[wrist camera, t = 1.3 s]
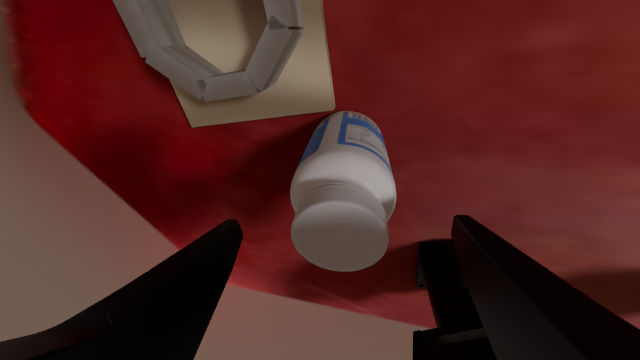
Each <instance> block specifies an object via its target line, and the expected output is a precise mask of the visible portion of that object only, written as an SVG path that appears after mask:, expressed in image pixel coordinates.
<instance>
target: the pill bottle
mask: <svg viewBox="0 0 640 360" xmlns="http://www.w3.org/2000/svg"><path fill="white" fill-rule="evenodd" d="M290 197H291V203H292V206H293V209H294V211H295V213H296V214H295V217H294V220H293V223H292V227H291V238H292V241H293V244H294V246H295V248H296V249H297V251H298V252H299V253H300V254H301V255H302V256H303V257H304V258H305V259H307V260H308V261H309V262H311V263H313V264H315V265H317V266H319V267H321V268H324V269H328V270H332V271H340V272H352V271H357V270H361V269H364V268H367V267H369V266H371V265H373V264H375V263H376V262H377V261H378V260H380V259H381V258H382V257H383V255H384V254H385V252H386V250H387V247H388V242H389V235H388V227H387V221H388V220H389V218H390V217H391V215H392V213H393V210H394V208H395V203H396V189H395V183H394V178H393V174H392V171H391V167H390V163H389V159H388V155H387V152H386V148H385V144H384V140H383V136H382V133H381V131H380V129H379V128H378V126H377V125H376V124H375V123H374V122H373V121H372V120H371V119H370V118H369V117H367V116H365V115H363V114H361V113H358V112H353V111H341V112H337V113H334V114H331V115H329V116H328V117H326V118H325V119H323V120H322V121H321V122H320V123H319V125H318V126H317V127H316V129H315V130H314V132H313V134H312V137H311V139H310V141H309V143H308V145H307V147H306V150H305V152H304V154H303V156H302V158H301V160H300V163H299V165H298V167H297V169H296V172H295V174H294V177H293V180H292V183H291V189H290Z"/></svg>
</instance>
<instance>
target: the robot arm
mask: <svg viewBox="0 0 640 360" xmlns="http://www.w3.org/2000/svg"><path fill="white" fill-rule="evenodd" d="M451 236H452V240H453V242H424V243H421V244H420V245H419V252H418V263H417V274H416V285H417V287H418V288H421V289H427V291H428V295H429V299H430V303H431V306H432V310H433V314H434V318H435V322H436V326H437V328H434V329H429V330H424V331H420V330H418V331H414V332H413V360H640V329H638V328H636V327H635V326H633V325H631V324H630V323H628V322H627V321H625V320H623V319H622V318H620V317H619V316H617V315H616V314H614V313H612V312H611V311H609V310H608V309H606V308H605V307H603V306H602V305H600V304H599V303H597V302H596V301H594V300H593V299H591V298H590V297H588V296H587V295H585V294H584V293H582V292H581V291H579V290H578V289H576V288H574V289H573V286H572V285H570V284H569V283H567V282H566V281H564V280H563V279H561V278H560V277H559V276H557V275H556V274H554V273H553V272H551V271H550V270H548V269H547V268H545V267H544V266H542V265H541V264H539V263H538V262H536V261H535V260H533V259H532V258H530V257H529V256H527V255H526V254H525V253H523V252H522V251H520V250H519V249H517V248H516V247H514V246H513V245H511V244H510V243H508V242H507V241H505V240H504V239H502V238H501V237H499V236H498V235H496V234H495V233H494V232H492V231H491V230H489V229H488V228H486V227H485V226H483V225H482V224H480V223H479V222H477V221H476V220H474V219H473V218H471V217H470V216H468V215H456V216H454V219H453V224H452V230H451ZM242 238H243V232H242V230H241V227H240V225H239V223H238V221H237V220H235V219H228V220H226V221H224V222H223V223H221V224H220V225H218V226H216V227H215V228H213V229H212V230H210V231H209V232H207V233H206V234H204V235H203V236H201V237H200V238H198V239H196V240H195V241H193V242H192V243H190V244H189V245H187V246H186V247H184V248H183V249H181V250H179V251H178V252H177V253H175V254H173V255H172V256H170V257H169V258H167V259H166V260H164V261H163V262H161V263H159V264H158V265H156V266H155V267H153V268H152V269H150V270H149V272H146V273H144V274H143V275H141V276H139V277H138V278H136V279H135V280H133V281H132V282H130V283H128V284H127V285H125V286H124V287H122V288H121V289H119V290H117V291H116V292H114V293H112V294H110V295H109V296H107V297H106V298H104V299H102V300H100V301H99V302H97V303H95V304H94V305H92V306H90V307H88V308H87V309H85V310H84V311H82V312H80V313H78V314H76V315H75V316H73V317H71V318H70V319H68V320H66V321H65V322H63V323H61V324H59V325H57V326H54V327H52V328H50V329H47V330H45V331H42V332H39V333H36V334H32V335H28V336H24V337H20V338H15V339H11V340H6V341H2V342H0V360H194V357H195V355H196V353H197V350H198V348H199V346H200V343H201V341H202V339H203V336H204V334H205V332H206V329H207V327H208V325H209V323H210V320H211V318H212V316H213V313H214V311H215V309H216V306H217V304H218V302H219V299H220V297H221V295H222V292H223V290H224V288H225V285H226V283H227V281H228V279H229V276H230V274H231V271H232V269H233V266H234V263H235V260H236V257H237V254H238V251H239V248H240V245H241V241H242Z"/></svg>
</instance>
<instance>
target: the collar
mask: <svg viewBox="0 0 640 360" xmlns="http://www.w3.org/2000/svg"><path fill="white" fill-rule="evenodd" d="M113 2H114V4H115V6H116V8H117V10H118V12H119V14H120V16H121V18H122V20H123V22H124V24H125V26H126V28H127V30H128V32H129V34H130V36H131V38H132V40H133V42H134V44H135V46H136V48H137V50H138V52H139V54H140V56H141V58H144V57H146V63H147V64H149V65H150V66H151V67H153V68H154V69H156V70H157V71H159V72H160V73H162V74H163V75H164V76H166V77H167V78H169V80H170V82H171V84H172V86H173V88H174V90H175V93H176V95H177V97H178V99H179V101H180V103H181V106H182V108H183V110H184V112H185V114H186V116H187V118H188V121H189V123H190V125H191V127H200V126H208V125H217V124H225V123H233V122H241V121H249V120H258V119H266V118H274V117H282V116H290V115H298V114H307V113H315V112H323V111H331V110H334V108H335V100H334V92H333V84H332V76H331V68H330V60H329V52H328V44H327V35H326V27H325V19H324V11H323V3H322V0H113Z"/></svg>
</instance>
